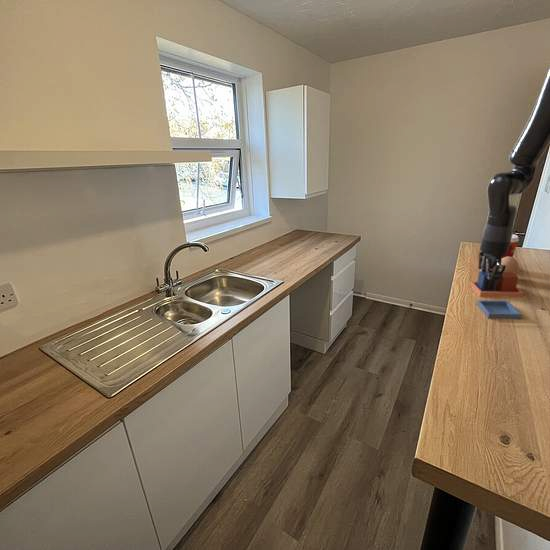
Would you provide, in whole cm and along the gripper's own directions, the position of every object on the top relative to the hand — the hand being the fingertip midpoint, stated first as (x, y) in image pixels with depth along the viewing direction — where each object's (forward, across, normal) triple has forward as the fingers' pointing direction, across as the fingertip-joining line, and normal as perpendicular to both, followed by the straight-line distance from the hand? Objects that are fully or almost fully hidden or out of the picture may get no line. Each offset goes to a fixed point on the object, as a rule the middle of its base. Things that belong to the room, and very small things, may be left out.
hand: (485, 285), depth 102 cm
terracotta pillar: (+1, -1, -6) cm, 6 cm away
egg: (+2, +9, -10) cm, 14 cm away
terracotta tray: (+2, -1, -3) cm, 3 cm away
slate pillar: (+1, 0, 0) cm, 1 cm away
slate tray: (+2, -15, +2) cm, 15 cm away
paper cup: (+2, +18, -12) cm, 22 cm away
